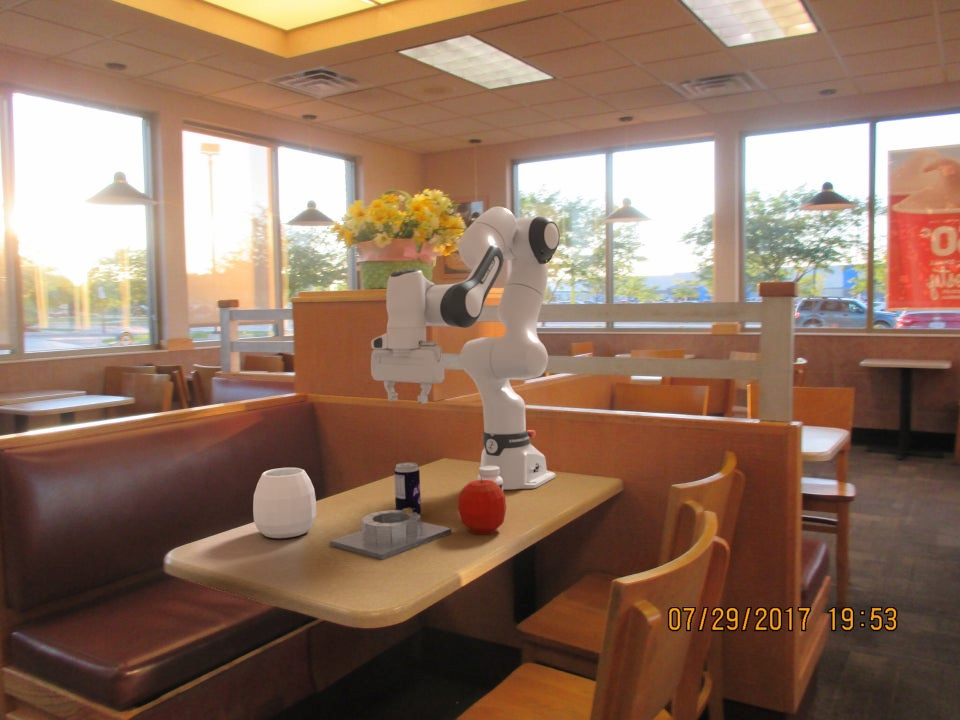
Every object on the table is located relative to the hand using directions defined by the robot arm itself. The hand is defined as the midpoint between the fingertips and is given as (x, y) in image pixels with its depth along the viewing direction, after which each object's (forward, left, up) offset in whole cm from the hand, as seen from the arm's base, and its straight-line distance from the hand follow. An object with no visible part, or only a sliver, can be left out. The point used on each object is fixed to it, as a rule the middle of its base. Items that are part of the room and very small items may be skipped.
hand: (407, 402), depth 171 cm
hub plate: (+15, +9, -26) cm, 31 cm away
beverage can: (+1, 0, -26) cm, 26 cm away
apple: (0, +21, -26) cm, 34 cm away
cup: (+25, -13, -26) cm, 39 cm away
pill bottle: (-10, +15, -26) cm, 32 cm away
